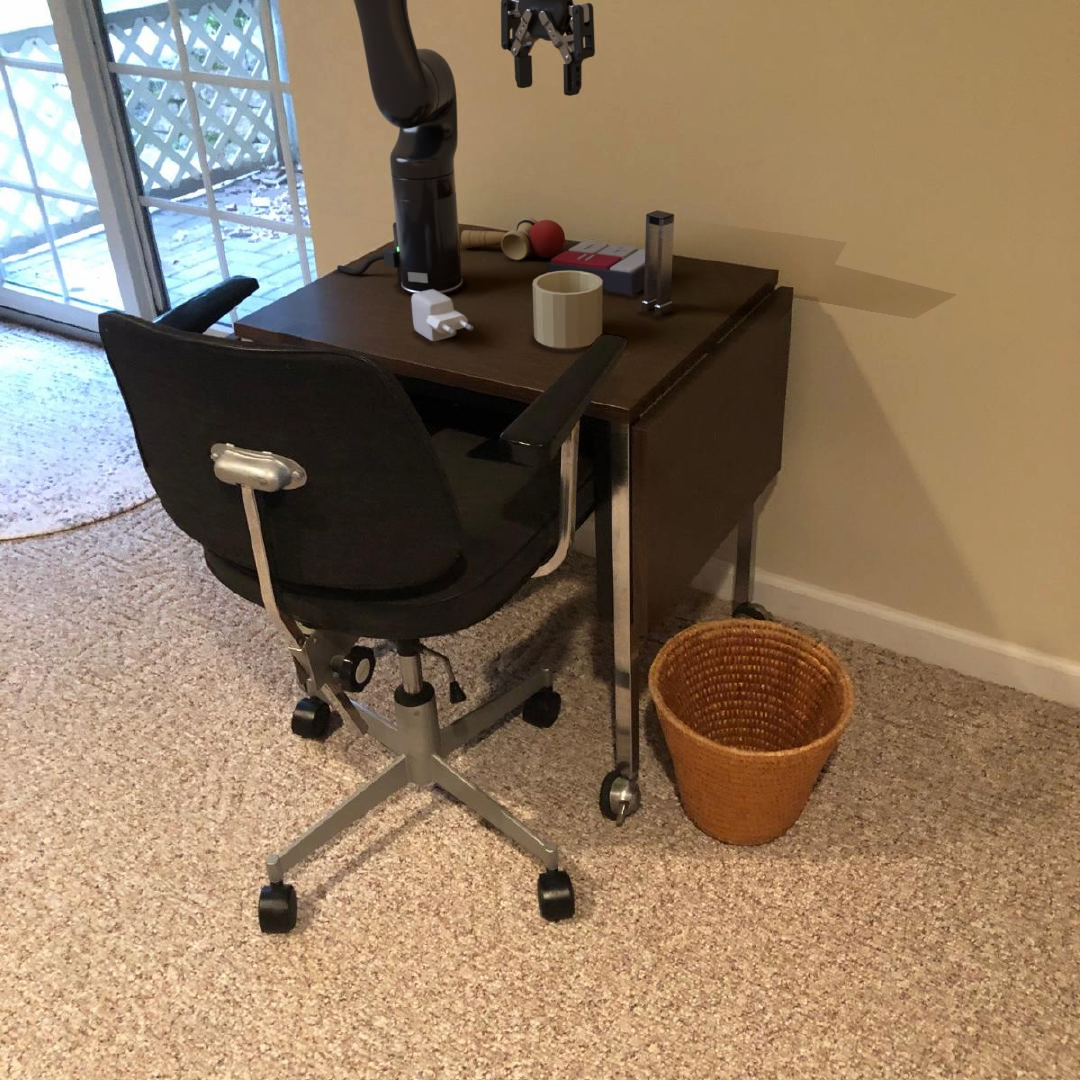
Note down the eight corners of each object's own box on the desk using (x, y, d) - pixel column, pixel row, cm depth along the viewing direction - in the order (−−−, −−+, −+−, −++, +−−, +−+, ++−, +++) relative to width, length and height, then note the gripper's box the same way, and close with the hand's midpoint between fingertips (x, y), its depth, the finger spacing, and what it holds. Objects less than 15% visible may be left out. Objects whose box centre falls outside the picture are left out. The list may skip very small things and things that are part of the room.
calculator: (581, 238, 171) (666, 247, 164) (583, 265, 173) (666, 275, 166) (545, 258, 163) (632, 268, 156) (547, 286, 165) (633, 297, 158)
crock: (520, 340, 146) (518, 283, 142) (567, 320, 152) (567, 265, 147) (569, 358, 141) (568, 299, 136) (616, 337, 146) (617, 280, 142)
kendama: (455, 264, 177) (555, 260, 170) (451, 224, 175) (551, 219, 168) (476, 258, 184) (573, 254, 176) (472, 220, 182) (570, 214, 174)
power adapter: (480, 350, 144) (478, 308, 140) (449, 359, 141) (446, 317, 138) (439, 325, 151) (436, 285, 148) (409, 333, 149) (405, 293, 146)
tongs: (641, 313, 153) (643, 213, 145) (654, 308, 155) (657, 209, 147) (659, 319, 151) (663, 218, 143) (672, 313, 153) (676, 213, 145)
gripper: (609, -54, 126) (608, 93, 135) (525, -58, 135) (529, 80, 144) (565, -49, 122) (567, 102, 131) (481, -53, 131) (488, 89, 140)
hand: (547, 90), depth 137 cm, fingers open, 8 cm apart
